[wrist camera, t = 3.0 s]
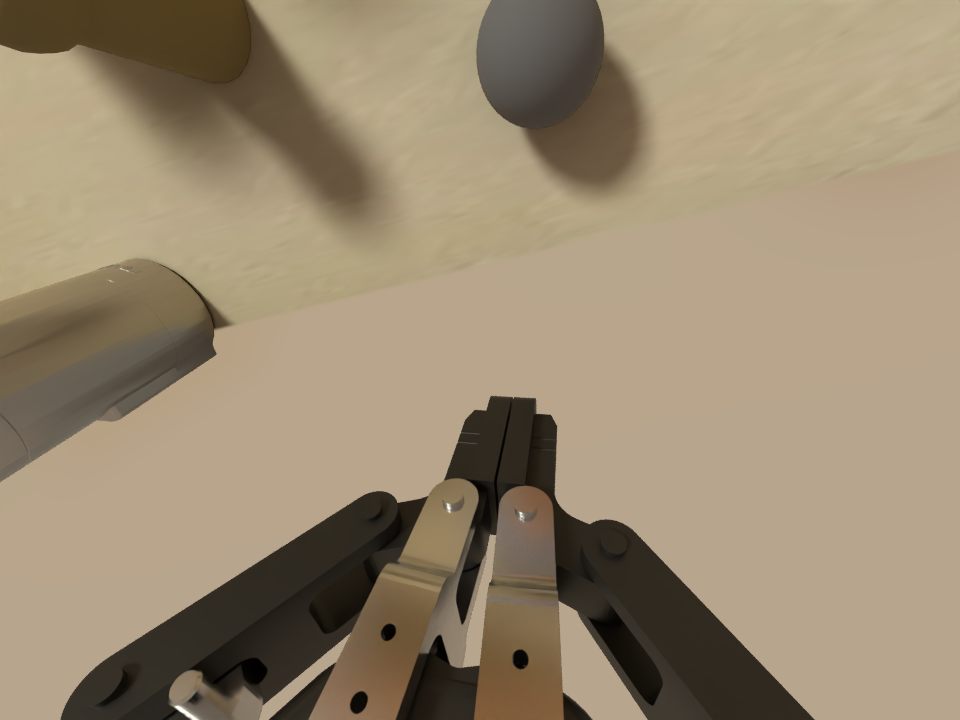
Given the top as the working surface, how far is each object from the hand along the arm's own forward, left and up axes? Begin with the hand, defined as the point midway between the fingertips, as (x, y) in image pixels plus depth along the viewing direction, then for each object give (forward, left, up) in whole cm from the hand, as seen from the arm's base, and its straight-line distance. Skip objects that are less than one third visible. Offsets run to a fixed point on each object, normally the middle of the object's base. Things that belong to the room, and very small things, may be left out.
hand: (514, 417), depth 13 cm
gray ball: (+11, 0, -12) cm, 16 cm away
